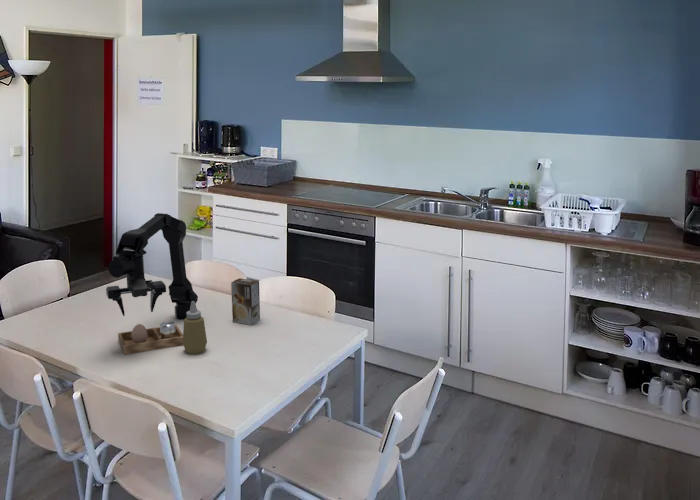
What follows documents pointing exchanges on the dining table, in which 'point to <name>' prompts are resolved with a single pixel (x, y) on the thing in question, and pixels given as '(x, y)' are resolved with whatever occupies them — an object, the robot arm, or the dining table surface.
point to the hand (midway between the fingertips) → (137, 313)
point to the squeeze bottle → (194, 331)
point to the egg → (139, 334)
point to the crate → (149, 341)
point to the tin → (167, 330)
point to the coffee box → (245, 301)
